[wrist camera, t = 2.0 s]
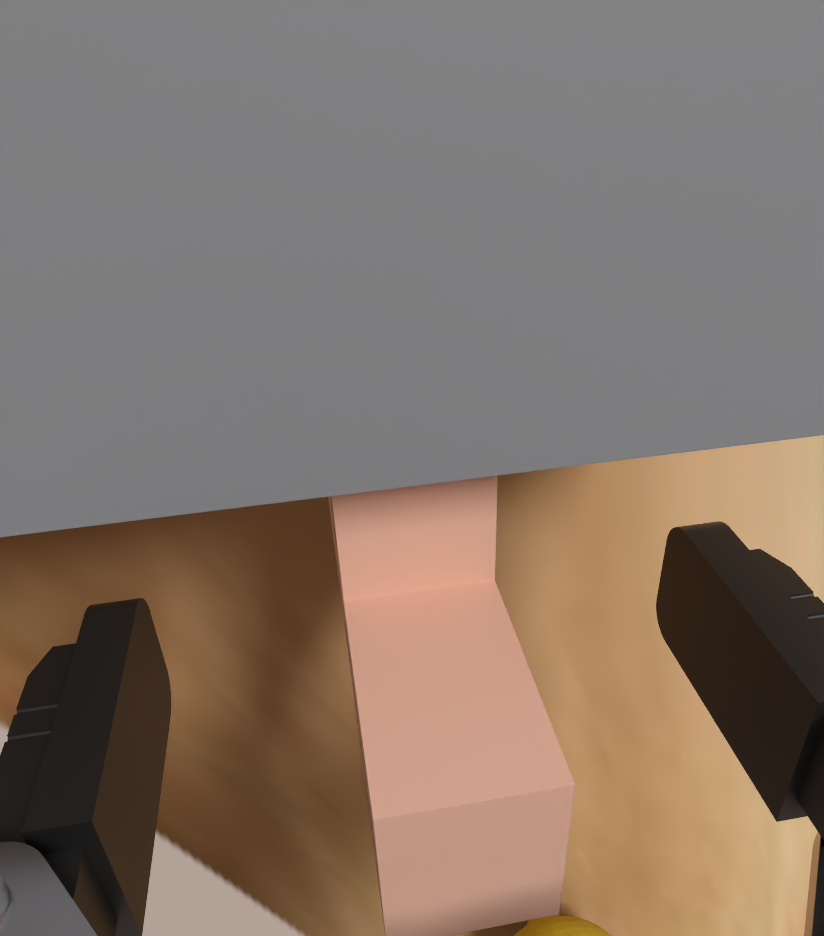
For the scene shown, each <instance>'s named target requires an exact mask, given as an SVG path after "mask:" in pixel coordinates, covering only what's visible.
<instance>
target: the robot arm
mask: <svg viewBox="0 0 824 936" xmlns="http://www.w3.org/2000/svg"><path fill="white" fill-rule="evenodd" d="M656 611H657V619H658V624H659V627H660V630H661V633H662V636H663V638H664V640H665V642H666V643H667V645H668V647H669V648H670V650H671V651H672V653H673V655H674V656H675V658H676V659H677V661H678V663H679V664H680V666H681V668H682V669H683V671H684V672H685V674H686V676H687V677H688V679H689V681H690V682H691V684H692V685H693V687H694V689H695V690H696V692H697V693H698V695H699V697H700V698H701V700H702V702H703V703H704V705H705V706H706V708H707V710H708V711H709V713H710V714H711V716H712V718H713V719H714V721H715V723H716V724H717V726H718V727H719V729H720V731H721V732H722V734H723V735H724V737H725V739H726V740H727V742H728V744H729V745H730V747H731V748H732V750H733V752H734V753H735V755H736V757H737V758H738V760H739V761H740V763H741V765H742V766H743V768H744V769H745V771H746V773H747V774H748V776H749V778H750V779H751V781H752V782H753V784H754V786H755V787H756V789H757V790H758V792H759V794H760V795H761V797H762V799H763V800H764V802H765V803H766V805H767V807H768V808H769V810H770V811H771V813H772V815H773V816H774V818H775V820H776V821H777V822H778V821H783V820H788V819H794V818H799V817H805V816H808V817H809V819H810V820H811V822H812V823H813V825H814V826H815V828H816V829H817V831H818V832H817V835H816V837H815V840H814V844H813V851H812V861H811V871H810V882H809V892H808V902H807V912H806V922H805V932H804V936H824V603H823V602H822V601H821V600H820V599H819V598H818V597H814V595H813V591H812V590H811V589H810V588H809V587H808V586H807V585H806V583H805V582H804V581H803V580H802V579H801V578H800V577H799V576H798V575H797V574H796V573H795V571H794V570H793V569H792V568H791V567H789V566H787V565H786V564H784V563H782V562H781V561H779V560H777V559H776V558H774V557H772V556H771V555H769V554H767V553H766V552H764V551H763V550H761V549H755V550H749V549H748V548H747V547H746V546H745V545H744V543H743V542H742V541H741V540H740V539H739V538H738V537H737V535H736V534H735V533H734V532H733V531H732V530H731V529H730V527H729V526H728V525H726V524H725V523H723V522H711V523H704V524H696V525H689V526H682V527H675V528H673V529H672V530H671V531H670V532H669V534H668V537H667V542H666V548H665V554H664V560H663V565H662V571H661V577H660V583H659V589H658V595H657V602H656ZM170 716H171V690H170V681H169V676H168V671H167V668H166V664H165V661H164V658H163V654H162V651H161V647H160V644H159V641H158V637H157V634H156V631H155V627H154V624H153V620H152V617H151V614H150V610H149V607H148V605H147V603H146V601H145V600H144V599H143V598H139V599H132V600H125V601H117V602H110V603H103V604H95V605H90V606H89V607H88V608H87V610H86V612H85V615H84V618H83V621H82V625H81V628H80V632H79V635H78V639H77V642H76V644H69V645H62V646H55V647H52V648H51V649H50V651H49V652H48V653H47V654H46V655H45V657H44V658H43V659H42V660H41V661H40V662H39V664H38V665H37V666H36V667H35V668H34V670H33V671H32V672H31V673H30V674H29V676H28V677H27V680H26V683H25V686H24V689H23V691H22V694H21V697H20V700H19V703H18V706H17V715H14V717H13V720H12V723H11V726H10V729H9V732H8V735H7V736H8V741H7V742H5V743H4V746H3V749H2V752H1V755H0V936H142V931H143V923H144V916H145V908H146V900H147V893H148V884H149V877H150V870H151V862H152V854H153V846H154V839H155V831H156V823H157V816H158V808H159V800H160V793H161V785H162V777H163V770H164V762H165V754H166V747H167V739H168V731H169V724H170Z"/></svg>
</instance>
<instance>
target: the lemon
mask: <svg viewBox="0 0 824 936" xmlns="http://www.w3.org/2000/svg"><path fill="white" fill-rule="evenodd" d="M514 936H611V935H610V934H609V933H608V932H606V931H605V930H603V929H602V928H601V927H599V926H597V925H595V924H594V923H592V922H589V921H587V920H584V919H581V918H578V917H574V916H560V915H553V916H548V917H543V918H538V919H532V920H528V922H527V924H526V926H525V927H524V928H522V929H521V930H519V931H518V932H517V933H516V934H515V935H514Z"/></svg>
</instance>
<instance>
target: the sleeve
mask: <svg viewBox="0 0 824 936" xmlns="http://www.w3.org/2000/svg"><path fill="white" fill-rule="evenodd" d="M819 435H824V0H0V537H7V536H15V535H23V534H31V533H39V532H47V531H55V530H63V529H71V528H79V527H87V526H95V525H103V524H111V523H119V522H127V521H135V520H143V519H152V518H160V517H168V516H176V515H184V514H192V513H200V512H208V511H216V510H224V509H232V508H240V507H248V506H256V505H264V504H272V503H280V502H288V501H296V500H304V499H312V498H320V497H328V496H337V495H345V494H353V493H361V492H369V491H377V490H385V489H393V488H401V487H409V486H417V485H425V484H433V483H441V482H449V481H457V480H465V479H473V478H481V477H489V476H497V475H505V474H513V473H521V472H530V471H538V470H546V469H554V468H562V467H570V466H578V465H586V464H594V463H602V462H610V461H618V460H626V459H634V458H642V457H650V456H658V455H666V454H674V453H682V452H690V451H698V450H706V449H714V448H723V447H731V446H739V445H747V444H755V443H763V442H771V441H779V440H787V439H795V438H803V437H811V436H819Z"/></svg>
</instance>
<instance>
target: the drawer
mask: <svg viewBox="0 0 824 936" xmlns="http://www.w3.org/2000/svg"><path fill="white" fill-rule="evenodd" d="M497 482H498V475H497V476H489V477H481V478H473V479H465V480H457V481H449V482H441V483H433V484H425V485H417V486H409V487H401V488H393V489H385V490H377V491H369V492H361V493H353V494H345V495H337V496H328V499H329V507H330V516H331V524H332V532H333V540H334V548H335V555H336V563H337V570H338V578H339V586H340V593H341V601H342V609H343V616H344V624H345V631H346V639H347V647H348V654H349V662H350V670H351V677H352V685H353V692H354V700H355V708H356V715H357V723H358V730H359V738H360V746H361V753H362V761H363V769H364V776H365V784H366V791H367V799H368V807H369V814H370V822H371V830H372V837H373V845H374V852H375V860H376V868H377V875H378V883H379V891H380V898H381V906H382V913H383V921H384V929H385V936H451V935H456V934H461V933H466V932H471V931H476V930H481V929H486V928H492V927H497V926H502V925H507V924H512V923H517V922H522V921H527V920H532V919H538V918H543V917H548V916H553V915H558V914H559V911H560V903H561V895H562V887H563V879H564V871H565V862H566V854H567V846H568V838H569V830H570V822H571V814H572V806H573V798H574V790H575V783H574V781H573V778H572V776H571V773H570V771H569V768H568V766H567V763H566V760H565V758H564V755H563V753H562V750H561V748H560V745H559V743H558V740H557V737H556V735H555V732H554V730H553V727H552V725H551V722H550V720H549V717H548V715H547V712H546V709H545V707H544V704H543V702H542V699H541V697H540V694H539V692H538V689H537V687H536V684H535V681H534V679H533V676H532V674H531V671H530V669H529V666H528V664H527V661H526V658H525V656H524V653H523V651H522V648H521V646H520V643H519V641H518V638H517V636H516V633H515V630H514V628H513V625H512V623H511V620H510V618H509V615H508V613H507V610H506V608H505V605H504V602H503V600H502V597H501V595H500V592H499V590H498V587H497V585H496V582H495V556H496V519H497Z"/></svg>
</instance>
